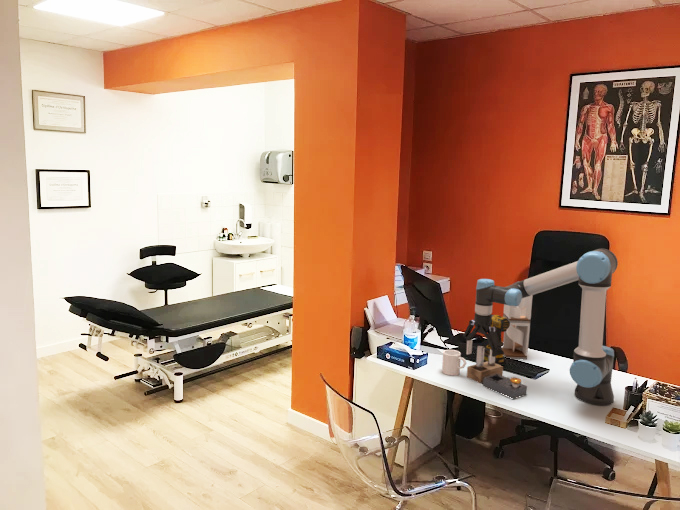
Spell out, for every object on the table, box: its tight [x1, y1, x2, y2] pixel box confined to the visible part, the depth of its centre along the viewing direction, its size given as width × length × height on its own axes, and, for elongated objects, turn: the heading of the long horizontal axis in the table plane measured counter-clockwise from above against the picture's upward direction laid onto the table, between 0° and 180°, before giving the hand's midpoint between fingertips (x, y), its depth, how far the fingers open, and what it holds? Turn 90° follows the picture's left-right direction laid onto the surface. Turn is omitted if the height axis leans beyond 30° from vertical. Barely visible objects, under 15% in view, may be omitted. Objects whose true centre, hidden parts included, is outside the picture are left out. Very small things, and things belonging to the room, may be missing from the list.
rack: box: [466, 356, 504, 384], centre depth 248 cm, size 8×15×9 cm, turn 124°
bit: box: [475, 345, 486, 371], centre depth 245 cm, size 3×3×15 cm
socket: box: [482, 374, 528, 399], centre depth 233 cm, size 16×9×4 cm, turn 34°
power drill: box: [484, 313, 510, 365], centre depth 265 cm, size 8×19×25 cm, turn 31°
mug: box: [441, 349, 467, 376], centre depth 251 cm, size 8×12×10 cm
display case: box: [501, 295, 534, 361], centre depth 275 cm, size 11×11×35 cm
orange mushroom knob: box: [509, 377, 522, 388], centre depth 229 cm, size 4×4×6 cm
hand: (480, 358), depth 245 cm, fingers open, 13 cm apart
